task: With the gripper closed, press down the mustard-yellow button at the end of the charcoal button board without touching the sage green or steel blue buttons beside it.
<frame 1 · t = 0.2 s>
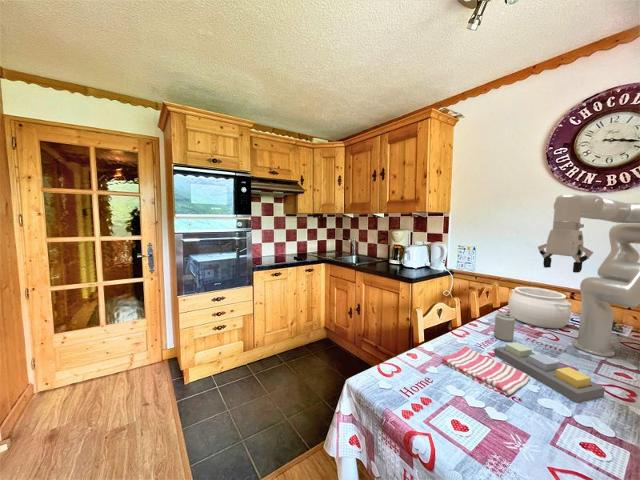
hand: (561, 269, 101), 36 cm above the table, tool pointing down, fingers open, 9 cm apart
sage button: (518, 350, 101), point 4 cm above the table, slide at 0.0 cm
pot: (536, 320, 142), on the table
button board: (541, 373, 93), on the table
can: (503, 338, 120), on the table
mustard button: (572, 377, 84), point 4 cm above the table, slide at 0.0 cm
blue button: (542, 362, 93), point 4 cm above the table, slide at 0.0 cm
dish towel: (483, 372, 94), on the table
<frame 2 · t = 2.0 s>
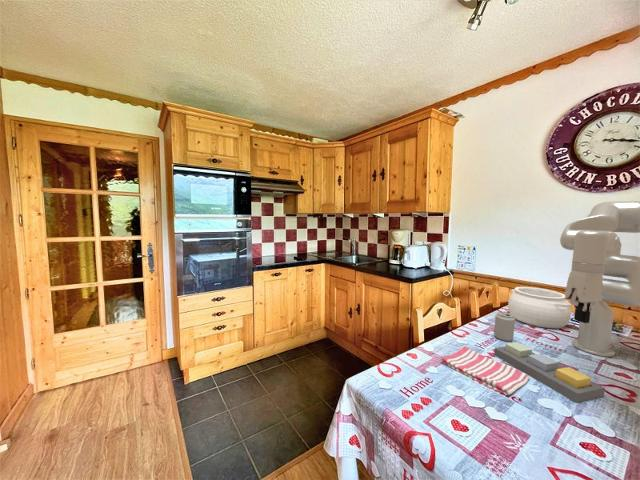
hand: (581, 321, 86), 22 cm above the table, tool pointing down, fingers closed
nothing on the table moved.
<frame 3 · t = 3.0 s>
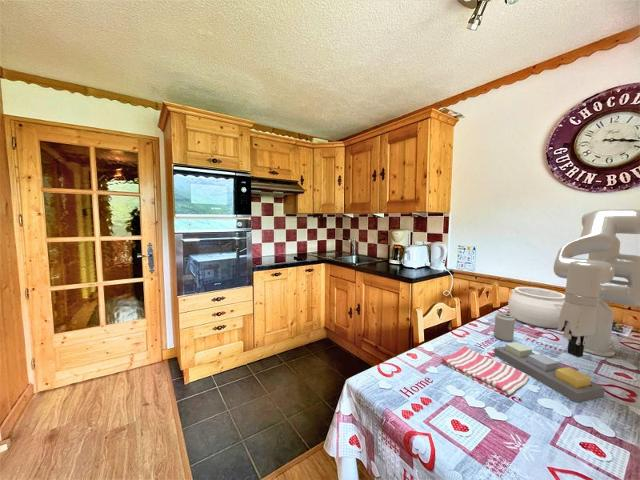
hand: (574, 354, 83), 12 cm above the table, tool pointing down, fingers closed
nothing on the table moved.
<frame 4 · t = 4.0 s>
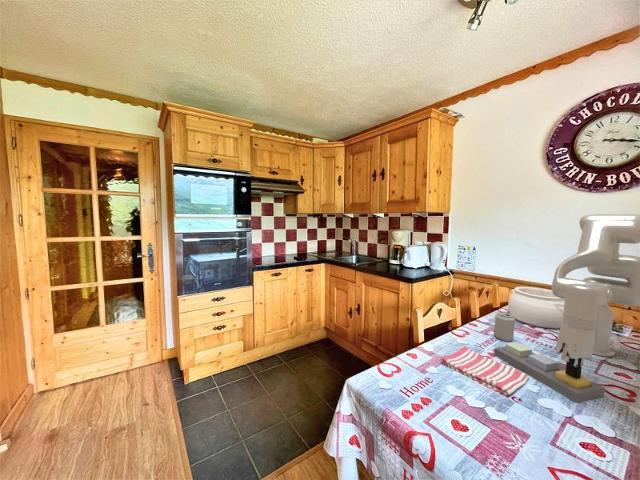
hand: (572, 375, 84), 5 cm above the table, tool pointing down, fingers closed
mustard button: (572, 380, 84), point 3 cm above the table, slide at 0.8 cm, touching gripper
everything else where it was.
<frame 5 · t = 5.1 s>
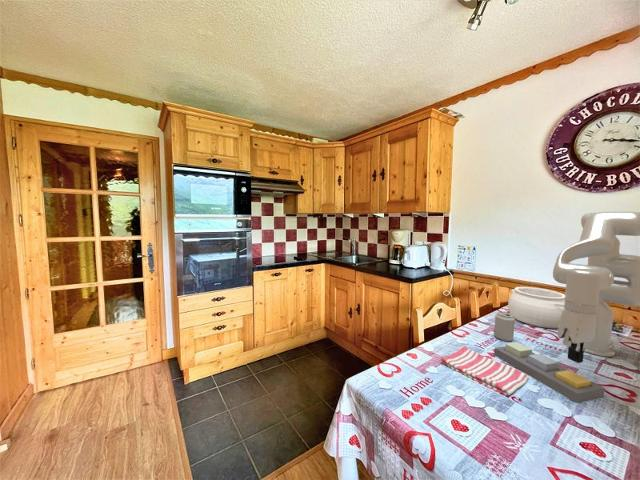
hand: (574, 360, 84), 10 cm above the table, tool pointing down, fingers closed
mustard button: (572, 380, 84), point 3 cm above the table, slide at 1.1 cm
everything else where it was.
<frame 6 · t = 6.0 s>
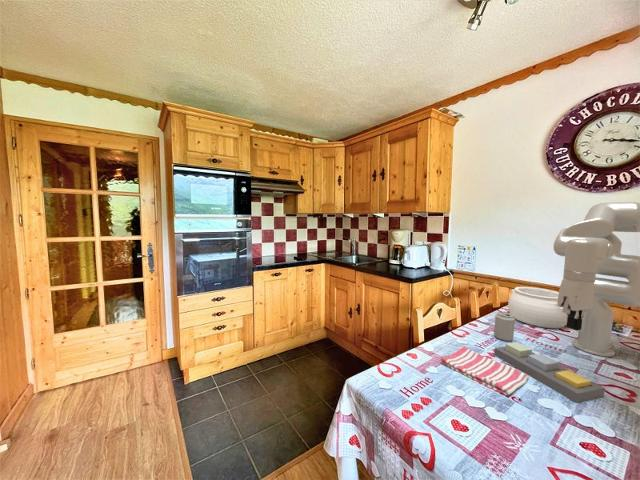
hand: (573, 328, 87), 19 cm above the table, tool pointing down, fingers closed
nothing on the table moved.
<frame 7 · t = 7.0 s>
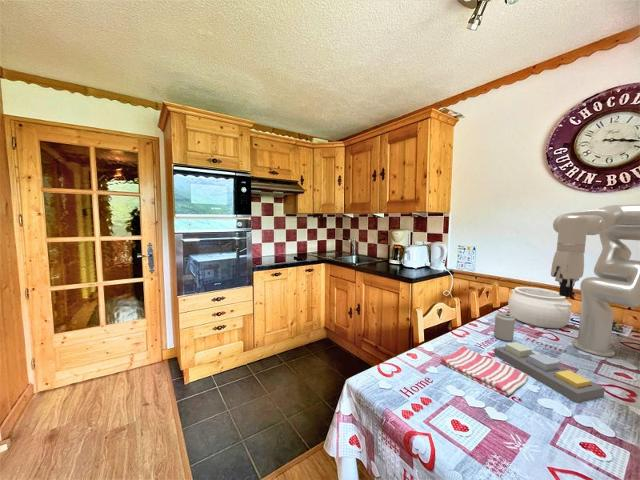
hand: (565, 296, 97), 27 cm above the table, tool pointing down, fingers closed
nothing on the table moved.
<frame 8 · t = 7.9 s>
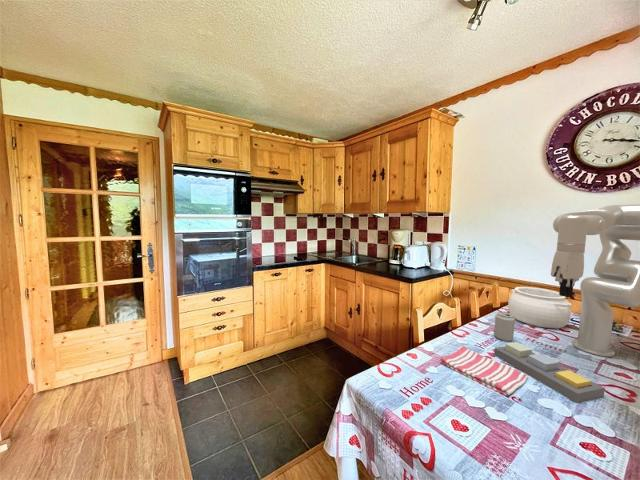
hand: (565, 296, 97), 27 cm above the table, tool pointing down, fingers closed
nothing on the table moved.
at the end: mustard button slide at 1.1 cm; sage button slide at 0.0 cm; blue button slide at 0.0 cm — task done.
